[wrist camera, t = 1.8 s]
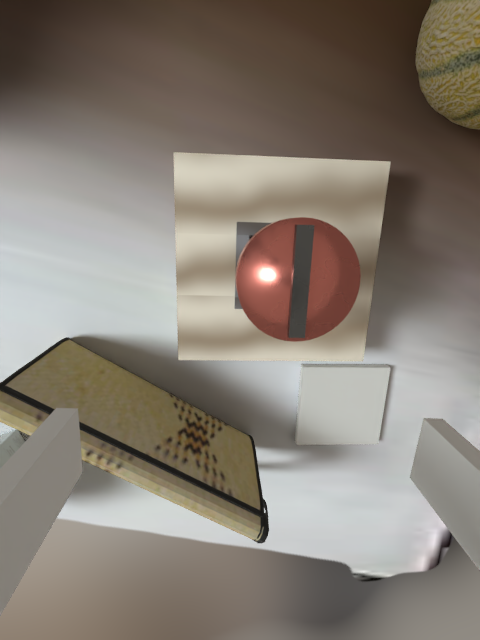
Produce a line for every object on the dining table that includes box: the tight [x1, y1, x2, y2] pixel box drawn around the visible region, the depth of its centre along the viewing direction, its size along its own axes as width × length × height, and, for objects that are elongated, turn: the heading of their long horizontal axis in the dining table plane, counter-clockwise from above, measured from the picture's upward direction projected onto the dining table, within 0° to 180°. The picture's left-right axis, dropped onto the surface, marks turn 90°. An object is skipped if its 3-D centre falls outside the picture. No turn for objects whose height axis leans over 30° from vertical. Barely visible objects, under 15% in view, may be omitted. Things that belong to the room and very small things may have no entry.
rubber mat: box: [295, 364, 391, 445], centre depth 43 cm, size 11×11×1 cm
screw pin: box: [235, 217, 361, 342], centre depth 31 cm, size 9×9×15 cm
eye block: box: [174, 152, 390, 361], centre depth 35 cm, size 20×20×6 cm
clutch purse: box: [0, 338, 269, 543], centre depth 35 cm, size 30×7×15 cm, turn 57°
